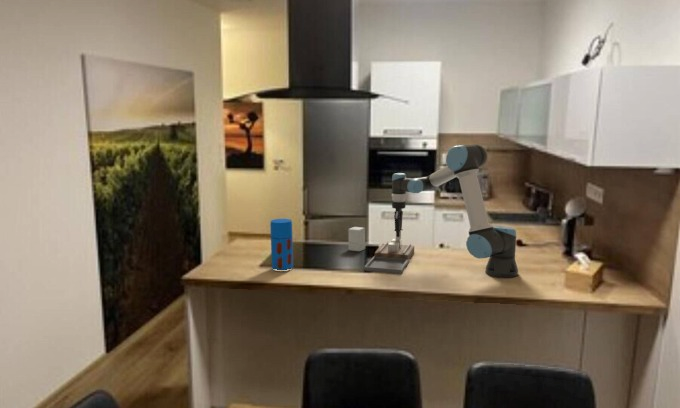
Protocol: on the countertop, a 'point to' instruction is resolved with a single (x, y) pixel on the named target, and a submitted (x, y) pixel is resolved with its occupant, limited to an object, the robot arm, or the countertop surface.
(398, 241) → the white squarish block
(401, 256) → the slot board
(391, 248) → the beige block
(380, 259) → the tray
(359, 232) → the supplement box
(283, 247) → the thermos
